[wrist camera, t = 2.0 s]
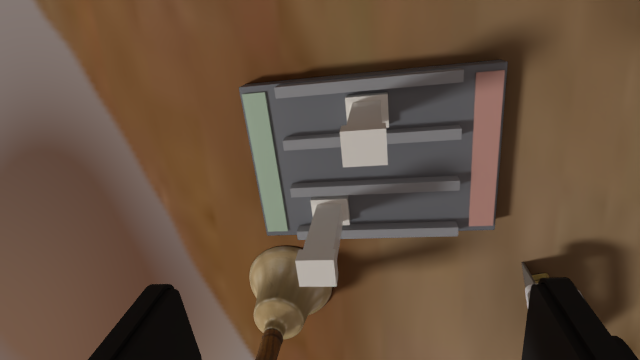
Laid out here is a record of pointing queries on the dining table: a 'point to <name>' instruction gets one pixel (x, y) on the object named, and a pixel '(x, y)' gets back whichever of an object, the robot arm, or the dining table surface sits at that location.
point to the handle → (323, 242)
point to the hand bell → (281, 298)
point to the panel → (402, 150)
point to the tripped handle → (365, 130)
